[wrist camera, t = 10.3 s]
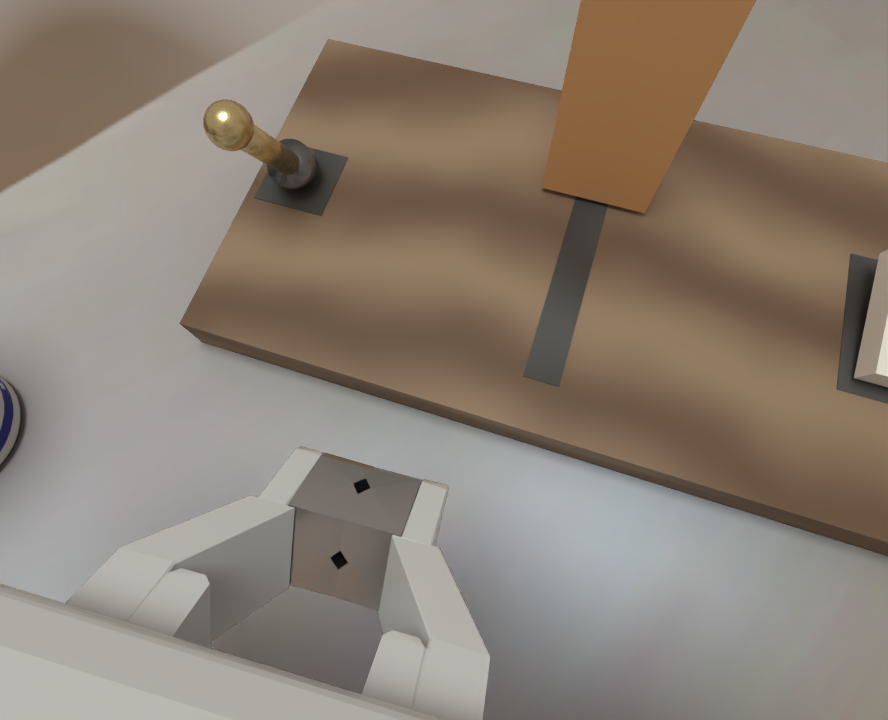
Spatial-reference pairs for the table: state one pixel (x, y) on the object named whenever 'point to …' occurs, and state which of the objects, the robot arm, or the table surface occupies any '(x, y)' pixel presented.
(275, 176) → the brass toggle lever
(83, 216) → the table surface
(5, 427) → the energy drink
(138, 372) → the table surface
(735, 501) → the panel
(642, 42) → the orange rectangular block
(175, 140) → the table surface
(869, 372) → the block
